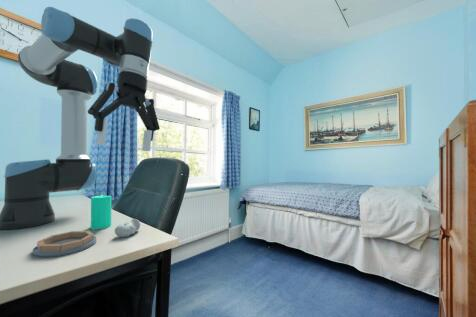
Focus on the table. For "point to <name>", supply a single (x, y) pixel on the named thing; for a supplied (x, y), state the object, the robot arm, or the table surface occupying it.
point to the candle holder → (64, 244)
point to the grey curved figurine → (127, 228)
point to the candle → (100, 212)
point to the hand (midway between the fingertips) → (125, 148)
